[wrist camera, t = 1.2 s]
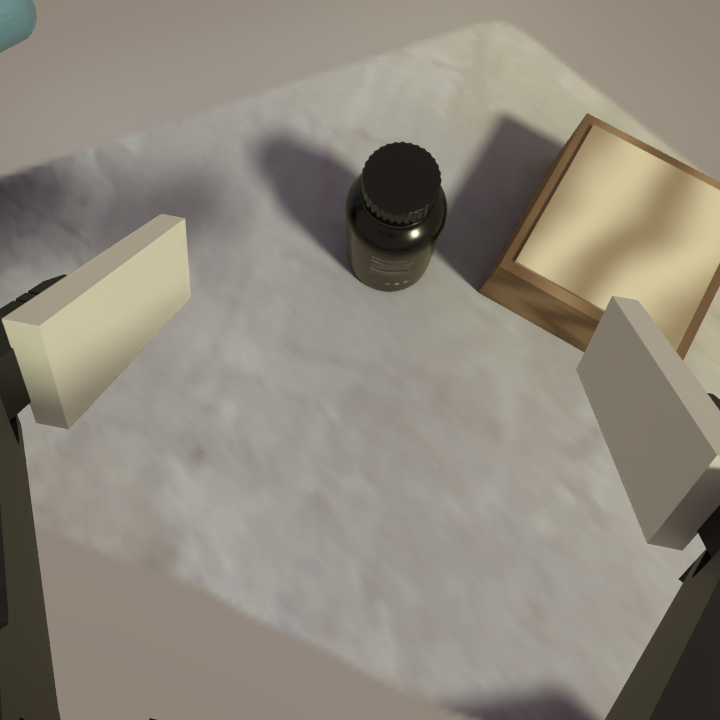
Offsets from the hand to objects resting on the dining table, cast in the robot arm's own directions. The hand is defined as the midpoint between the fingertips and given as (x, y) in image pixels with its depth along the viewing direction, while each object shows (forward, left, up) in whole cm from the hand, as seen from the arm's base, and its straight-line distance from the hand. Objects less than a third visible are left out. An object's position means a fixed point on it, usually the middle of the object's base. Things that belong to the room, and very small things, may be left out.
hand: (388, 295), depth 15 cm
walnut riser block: (+11, +18, -24) cm, 32 cm away
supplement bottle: (-4, +10, -24) cm, 27 cm away
